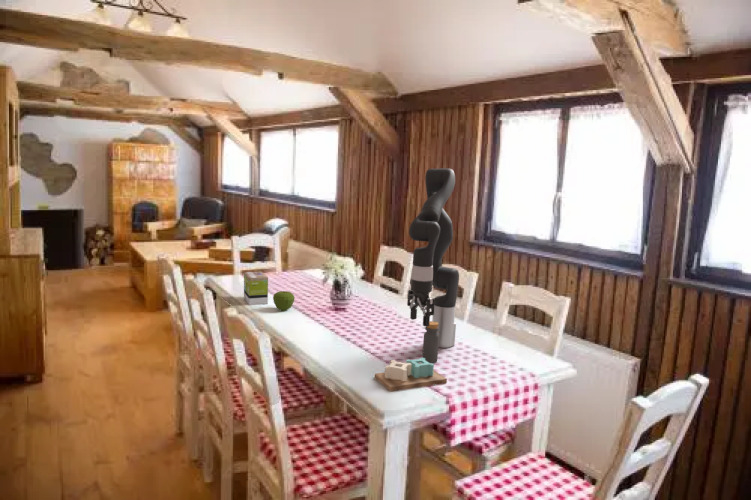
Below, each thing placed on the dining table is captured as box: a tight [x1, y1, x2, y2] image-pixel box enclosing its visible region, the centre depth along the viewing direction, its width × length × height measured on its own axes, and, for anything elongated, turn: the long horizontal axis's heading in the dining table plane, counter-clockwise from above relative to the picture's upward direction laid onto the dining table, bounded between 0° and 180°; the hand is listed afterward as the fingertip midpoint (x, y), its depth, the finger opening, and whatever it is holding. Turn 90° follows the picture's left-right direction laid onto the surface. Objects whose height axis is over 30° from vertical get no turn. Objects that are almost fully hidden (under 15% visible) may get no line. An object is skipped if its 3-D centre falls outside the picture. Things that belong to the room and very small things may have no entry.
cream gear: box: [384, 359, 412, 382], centre depth 181 cm, size 8×8×4 cm
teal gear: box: [405, 357, 435, 378], centre depth 185 cm, size 8×8×4 cm
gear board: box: [374, 362, 448, 392], centre depth 183 cm, size 22×12×6 cm, turn 116°
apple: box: [272, 290, 295, 312], centre depth 264 cm, size 11×10×10 cm
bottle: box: [421, 320, 439, 364], centre depth 203 cm, size 6×6×15 cm
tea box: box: [243, 271, 269, 306], centre depth 278 cm, size 15×10×15 cm, turn 25°
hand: (419, 322), depth 186 cm, fingers open, 8 cm apart
